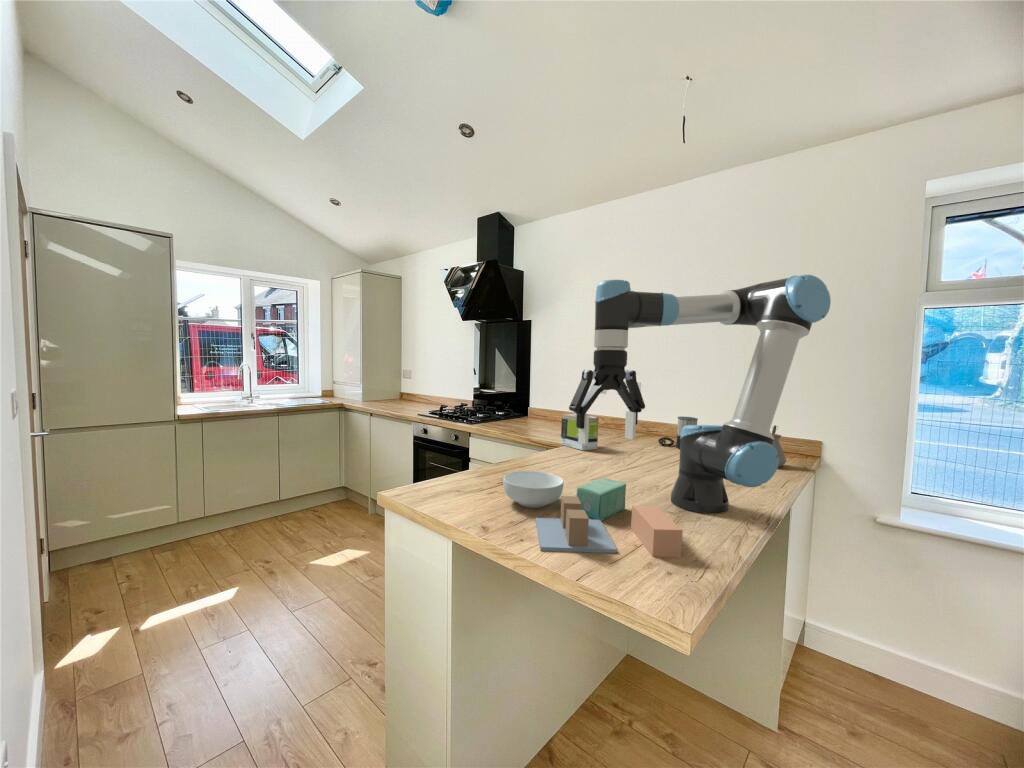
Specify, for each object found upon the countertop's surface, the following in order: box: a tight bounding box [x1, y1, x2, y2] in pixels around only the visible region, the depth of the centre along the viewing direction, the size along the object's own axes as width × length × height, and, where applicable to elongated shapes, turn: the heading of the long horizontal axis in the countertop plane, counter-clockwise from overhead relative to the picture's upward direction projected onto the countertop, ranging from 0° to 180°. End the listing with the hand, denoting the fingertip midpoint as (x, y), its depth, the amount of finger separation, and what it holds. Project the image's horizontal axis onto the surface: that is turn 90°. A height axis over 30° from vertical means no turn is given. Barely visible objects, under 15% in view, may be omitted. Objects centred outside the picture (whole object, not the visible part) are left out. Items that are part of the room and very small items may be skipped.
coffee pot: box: [771, 424, 787, 469], centre depth 174 cm, size 21×12×15 cm, turn 143°
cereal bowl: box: [502, 470, 564, 509], centre depth 116 cm, size 17×17×7 cm
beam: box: [630, 505, 683, 558], centre depth 93 cm, size 6×14×6 cm, turn 2°
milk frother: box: [657, 416, 699, 450], centre depth 201 cm, size 14×16×15 cm
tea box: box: [560, 413, 600, 451], centre depth 194 cm, size 15×10×15 cm
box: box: [576, 477, 627, 522], centre depth 111 cm, size 7×14×8 cm, turn 137°
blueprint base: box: [535, 495, 618, 554], centre depth 95 cm, size 16×16×7 cm
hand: (607, 440), depth 97 cm, fingers open, 13 cm apart
